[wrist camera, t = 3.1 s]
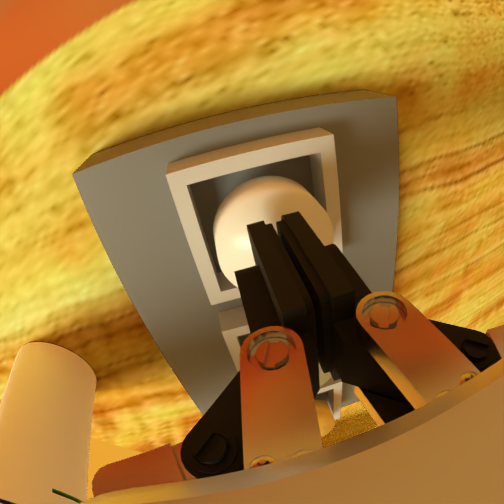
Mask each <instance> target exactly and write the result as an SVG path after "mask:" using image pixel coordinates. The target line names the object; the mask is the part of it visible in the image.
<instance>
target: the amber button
mask: <svg viewBox="0 0 504 504" xmlns="http://www.w3.org/2000/svg"><path fill="white" fill-rule="evenodd" d="M314 401H315V407H316V412H317V417H318V422H319V428H320V433H321V437H323V436H325V435H326V434H328V433H329V432H330V431H331V430H332V429H333V428H334V427H335V424H336V422H335V420H334V417H333V415H332V412H331V410H330V407H329V405H328V403H327V402H325V401H323V400H314Z"/></svg>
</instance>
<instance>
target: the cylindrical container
mask: <svg viewBox="0 0 504 504" xmlns="http://www.w3.org/2000/svg"><path fill="white" fill-rule="evenodd" d="M96 383H97V380H96V375H95V373H94V371H93V370H92V368H91V367H90V366H89V364H88V363H86V362H85V361H84V360H83V359H82V358H81V357H79V356H78V355H76V354H75V353H73V352H71V351H69V350H68V349H65V348H63V347H61V346H58V345H55V344H51V343H46V342H31V343H27V344H25V345H23V346H22V347H21V348H20V349H19V351H18V353H17V356H16V358H15V361H14V364H13V367H12V370H11V373H10V376H9V379H8V382H7V385H6V388H5V391H4V395H3V398H2V402H1V405H0V504H79V503H81V502H83V501H85V500H87V482H88V461H89V460H88V459H89V446H90V434H91V423H92V414H93V405H94V397H95V390H96Z"/></svg>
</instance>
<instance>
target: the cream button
mask: <svg viewBox="0 0 504 504" xmlns="http://www.w3.org/2000/svg"><path fill="white" fill-rule="evenodd" d="M297 211H299V212H300V213H301V215H302V216H303V217H304V219H305V220H306V222H307V223H308V224H309V226H310V227H311V228H312V230H313V231H314V232H315V234H316V235H317V237H318V238H319V239H320V241H321V242H322V243H323V245H324V246H326V245H330V244H333V226H332V223H331V220H330V218H329V216H328V214H327V212H326V211H325V209H324V208H323V207H322V206H321V205H320V204H319V203H318V202H317V200H316V199H315V198H314V197H313V196H312V195H311V194H310V193H309V192H308V191H307V190H306V189H305V188H304V187H303V186H302V185H301V184H299V183H298V182H296V181H294V180H292V179H289V178H286V177H282V176H261V177H256V178H253V179H250V180H248V181H246V182H244V183H242V184H240V185H239V186H237V187H236V188H234V189H233V190H232V191H231V192H230V193H229V194H228V195H227V196H226V197H225V198H224V200H223V201H222V202H221V204H220V206H219V207H218V209H217V212H216V215H215V218H214V224H213V235H214V240H215V246H216V251H217V257H218V261H219V265H220V267H221V270H222V272H223V273H224V275H225V276H226V278H227V279H228V280H229V281H230V282H231V283H232V284H233V285H235V286H236V287H238V285H237V281H236V277H235V273H234V271H238V270H241V269H245V268H249V267H252V266H256V265H255V261H254V257H253V252H252V248H251V244H250V240H249V235H248V231H247V225H248V224H252V223H256V222H259V221H264V222H265V224H270V223H272V225H273V227H274V229H275V230H276V232H277V227H276V222H277V221H281V216H282V215H286V214H289V213H293V212H297ZM277 234H278V233H277Z"/></svg>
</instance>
